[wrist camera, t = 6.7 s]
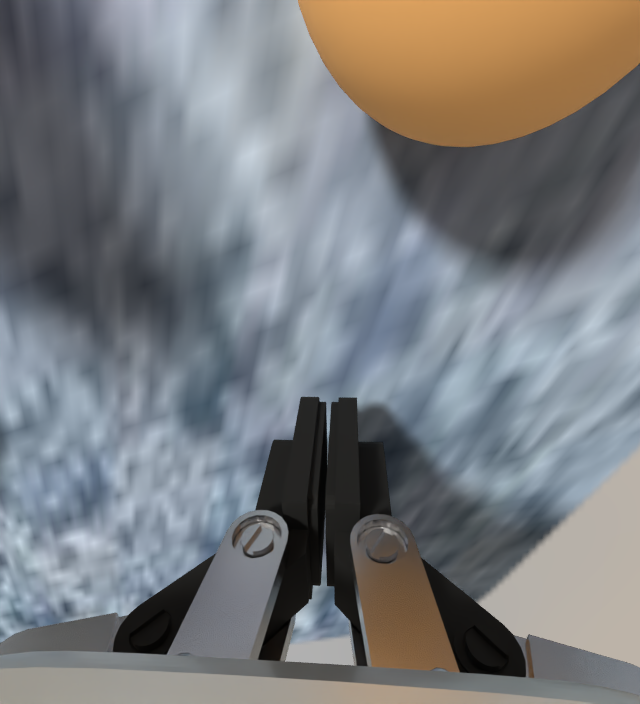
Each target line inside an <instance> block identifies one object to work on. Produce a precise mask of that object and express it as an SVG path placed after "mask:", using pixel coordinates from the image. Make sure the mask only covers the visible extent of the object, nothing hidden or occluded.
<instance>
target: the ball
mask: <svg viewBox="0 0 640 704" xmlns="http://www.w3.org/2000/svg"><path fill="white" fill-rule="evenodd" d="M298 3H299V7H300V10H301V12H302V15H303V18H304V21H305V23H306V26H307V29H308V32H309V34H310V37H311V39H312V41H313V43H314V45H315V47H316V49H317V51H318V53H319V55H320V57H321V59H322V61H323V63H324V64H325V66H326V67H327V69H328V70H329V72H330V73H331V75H332V76H333V78H334V79H335V81H336V82H337V84H338V85H339V86H340V88H341V89H342V90H343V91H344V92H345V93H346V94H347V95H348V96H349V98H350V99H351V100H352V101H353V102H354V103H355V104H356V105H357V106H358V107H359V108H360V109H361V110H362V111H364V112H365V113H366V114H368V115H369V116H370V117H372V118H373V119H374V120H376V121H377V122H378V123H380V124H381V125H383V126H385V127H386V128H388V129H390V130H392V131H394V132H396V133H398V134H400V135H402V136H405V137H407V138H410V139H413V140H417V141H421V142H425V143H429V144H433V145H439V146H451V147H474V146H482V145H490V144H496V143H500V142H504V141H508V140H512V139H516V138H519V137H523V136H526V135H528V134H531V133H533V132H536V131H538V130H541V129H543V128H546V127H548V126H550V125H552V124H554V123H556V122H558V121H560V120H561V119H563V118H565V117H567V116H569V115H571V114H573V113H575V112H576V111H578V110H579V109H581V108H582V107H584V106H585V105H587V104H588V103H590V102H591V101H593V100H594V99H596V98H597V97H599V96H600V95H602V94H603V93H605V92H606V91H607V90H608V89H610V88H611V87H612V86H613V85H614V84H616V83H617V82H618V81H619V80H621V79H622V78H623V77H624V76H625V75H627V74H628V73H629V72H630V71H631V70H633V69H634V68H635V67H636V66H637V65H638V64H639V63H640V0H298Z"/></svg>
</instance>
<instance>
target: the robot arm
mask: <svg viewBox="0 0 640 704" xmlns="http://www.w3.org/2000/svg"><path fill="white" fill-rule="evenodd" d="M325 517H326V560H327V586H335V605H336V606H337V607H338V608H339V609H340V610H341V612H342V613H343V614H344V615H345V616H346V617H347V618H348V619H349V631H350V638H351V645H352V652H353V659H354V666H351V665H334V664H317V663H301V662H285V660H286V656H287V652H288V648H289V644H290V640H291V636H292V632H293V628H294V624H295V616H296V613H297V612H298V611H300V610H301V609H302V608H303V607H304V606H305V605H306V604H307V603H308V601H309V599H312V588H313V585H317V586H320V585H321V572H322V556H323V539H324V523H325ZM0 704H640V668H639V667H637V666H635V665H632V664H630V663H627V662H623V661H620V660H616V659H612V658H609V657H606V656H602V655H598V654H595V653H592V652H588V651H585V650H581V649H578V648H574V647H571V646H567V645H564V644H560V643H557V642H553V641H550V640H546V639H543V638H539V637H536V636H532V635H528V637H527V639H525V638H521V637H518V636H514V635H513V634H512V633H511V632H510V631H509V630H508V629H507V628H506V627H505V626H504V625H503V624H502V623H501V622H499V621H498V620H497V619H496V618H495V617H493V616H492V615H491V614H490V613H488V612H487V611H486V610H485V609H484V608H482V607H481V606H480V605H479V604H477V603H476V602H475V601H474V600H472V599H471V598H470V597H469V596H468V595H466V594H465V593H464V592H463V591H461V590H460V589H459V588H458V587H457V586H455V585H454V584H453V583H452V582H450V581H449V580H448V579H447V578H446V577H444V576H443V575H442V574H441V573H439V572H438V571H437V570H436V569H434V568H433V567H432V566H431V565H430V564H428V563H427V562H426V561H425V560H423V559H422V558H421V557H420V554H419V551H418V548H417V545H416V542H415V539H414V536H413V535H412V533H411V531H410V529H409V528H408V527H407V526H406V525H405V524H404V523H403V522H402V521H400V520H398V519H397V518H395V517H392V515H391V507H390V498H389V489H388V481H387V472H386V464H385V455H384V447H383V442H358V422H357V398H339V402H332V404H331V419H330V435H329V450H328V466H327V420H326V402H320V401H319V397H301V399H300V405H299V410H298V415H297V421H296V426H295V432H294V437H293V440H274V441H273V443H272V446H271V450H270V454H269V458H268V462H267V466H266V470H265V474H264V478H263V482H262V486H261V490H260V494H259V498H258V502H257V506H256V510H255V511H251V512H248V513H246V514H244V515H242V516H240V517H239V518H237V519H236V520H235V521H234V522H233V523H232V524H231V526H230V527H229V529H228V530H227V532H226V534H225V536H224V538H223V540H222V542H221V544H220V546H219V548H218V550H217V553H216V554H214V555H213V556H211V557H210V558H208V559H207V560H205V561H204V562H202V563H201V564H199V565H198V566H197V567H195V568H194V569H192V570H191V571H189V572H188V573H186V574H185V575H183V576H182V577H180V578H179V579H177V580H176V581H174V582H173V583H172V584H170V585H169V586H167V587H166V588H164V589H163V590H161V591H160V592H158V593H157V594H155V595H154V596H152V597H151V598H149V599H148V600H147V601H145V602H144V603H142V604H141V605H139V606H138V607H137V608H136V609H134V610H133V611H132V612H131V613H130V614H129V615H127V616H122V617H119V616H118V614H117V613H112V614H106V615H101V616H96V617H90V618H85V619H80V620H75V621H69V622H64V623H59V624H53V625H48V626H43V627H38V628H32V629H27V630H25V631H22V632H19V633H16V634H14V635H12V636H11V637H9V638H8V639H6V640H5V641H3V642H1V643H0Z"/></svg>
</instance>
